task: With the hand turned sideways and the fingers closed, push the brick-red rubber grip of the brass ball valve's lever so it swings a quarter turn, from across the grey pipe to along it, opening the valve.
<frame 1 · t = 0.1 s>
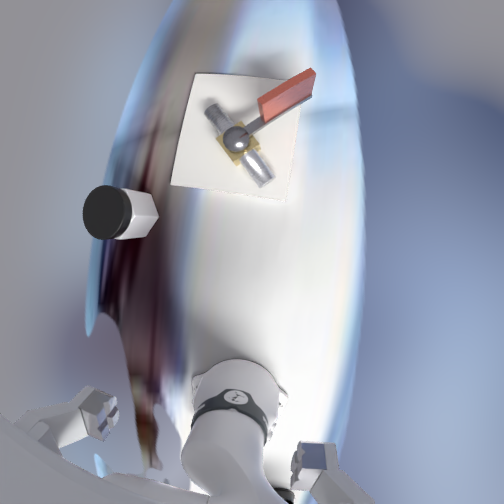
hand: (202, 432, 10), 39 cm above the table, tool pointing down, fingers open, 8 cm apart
valve body: (240, 148, 47), resting on mounting plate
jar: (138, 214, 50), on the table
french press: (276, 497, 54), on the table
lever: (267, 109, 38), point 9 cm above the table, hinge at 0.0°
mounting plate: (238, 131, 47), on the table
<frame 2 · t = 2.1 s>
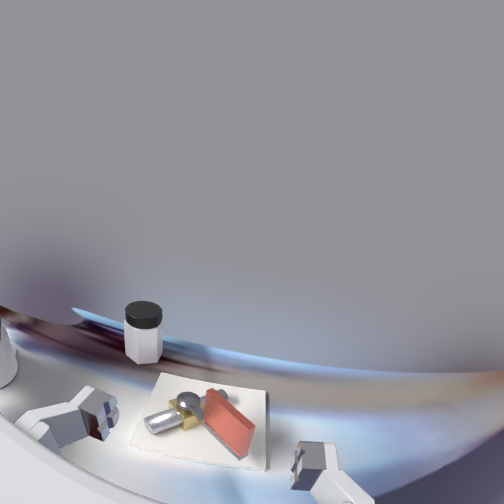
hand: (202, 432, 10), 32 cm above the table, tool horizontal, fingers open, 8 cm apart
valve body: (187, 420, 44), resting on mounting plate
jar: (144, 354, 60), on the table
lever: (211, 410, 38), point 9 cm above the table, hinge at 0.0°
mounting plate: (204, 420, 45), on the table
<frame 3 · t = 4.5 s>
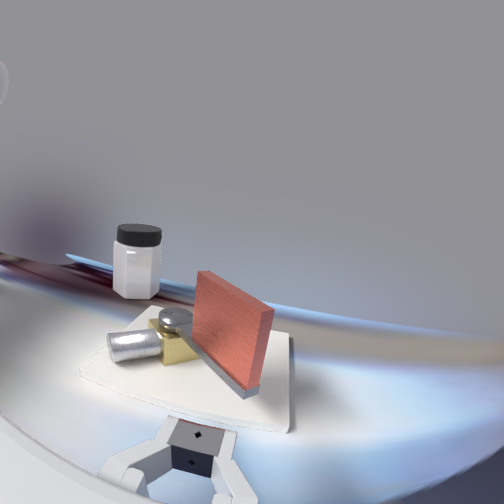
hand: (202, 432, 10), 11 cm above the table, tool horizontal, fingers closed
valve body: (174, 357, 33), resting on mounting plate
jar: (136, 292, 50), on the table
lever: (204, 315, 27), point 9 cm above the table, hinge at 0.0°
mounting plate: (199, 359, 34), on the table
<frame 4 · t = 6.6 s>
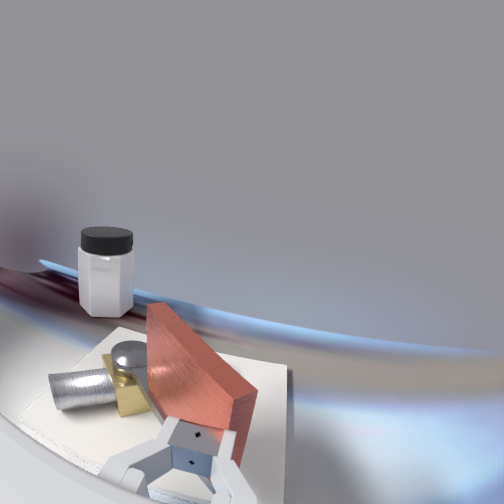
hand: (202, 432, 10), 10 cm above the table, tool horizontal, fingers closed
valve body: (137, 402, 23), resting on mounting plate
jar: (106, 307, 41), on the table
lever: (161, 365, 17), point 9 cm above the table, hinge at 0.0°, touching gripper
mounting plate: (169, 405, 24), on the table
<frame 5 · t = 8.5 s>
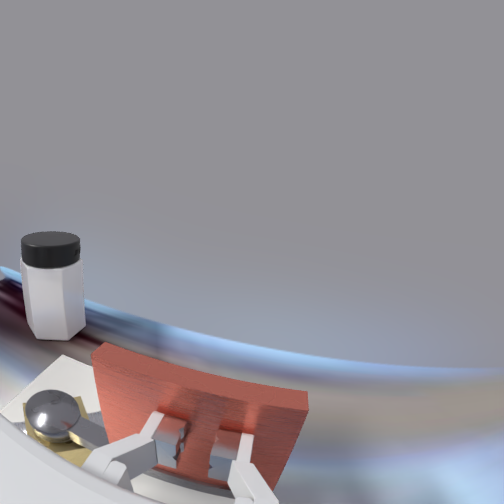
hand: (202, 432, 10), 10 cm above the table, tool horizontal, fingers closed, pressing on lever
valve body: (72, 459, 14), resting on mounting plate
jar: (56, 326, 31), on the table
lever: (124, 417, 11), point 9 cm above the table, hinge at 42.2°, touching gripper
mounting plate: (110, 466, 15), on the table
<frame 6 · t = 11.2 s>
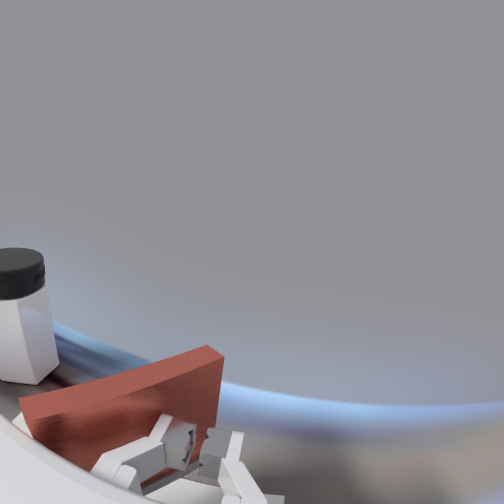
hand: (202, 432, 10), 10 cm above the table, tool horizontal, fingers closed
jar: (25, 363, 22), on the table
lever: (72, 466, 7), point 9 cm above the table, hinge at 99.6°, touching gripper
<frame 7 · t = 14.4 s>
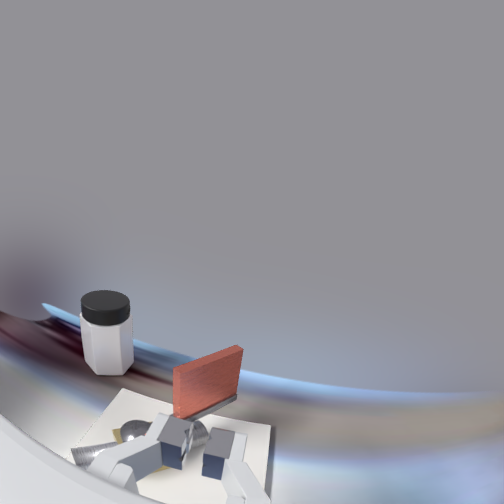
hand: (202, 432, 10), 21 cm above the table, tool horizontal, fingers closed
valve body: (143, 462, 25), resting on mounting plate
jar: (109, 363, 42), on the table
lever: (183, 396, 27), point 9 cm above the table, hinge at 99.6°
mounting plate: (170, 464, 25), on the table
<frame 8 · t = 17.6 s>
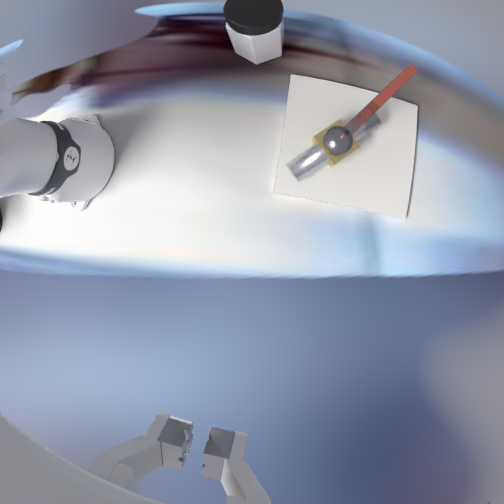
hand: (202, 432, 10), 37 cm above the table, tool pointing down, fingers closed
valve body: (332, 146, 42), resting on mounting plate
jar: (260, 44, 40), on the table
lever: (371, 107, 32), point 9 cm above the table, hinge at 99.6°
mounting plate: (351, 144, 41), on the table
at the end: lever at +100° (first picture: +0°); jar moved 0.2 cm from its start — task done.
